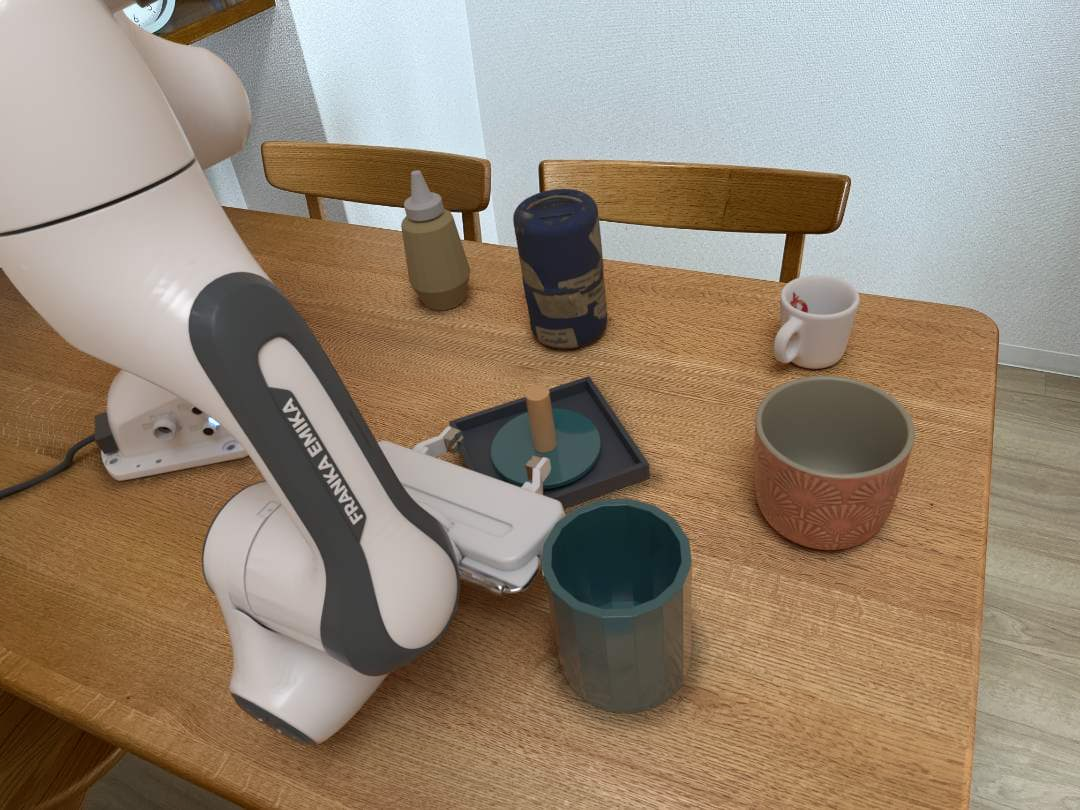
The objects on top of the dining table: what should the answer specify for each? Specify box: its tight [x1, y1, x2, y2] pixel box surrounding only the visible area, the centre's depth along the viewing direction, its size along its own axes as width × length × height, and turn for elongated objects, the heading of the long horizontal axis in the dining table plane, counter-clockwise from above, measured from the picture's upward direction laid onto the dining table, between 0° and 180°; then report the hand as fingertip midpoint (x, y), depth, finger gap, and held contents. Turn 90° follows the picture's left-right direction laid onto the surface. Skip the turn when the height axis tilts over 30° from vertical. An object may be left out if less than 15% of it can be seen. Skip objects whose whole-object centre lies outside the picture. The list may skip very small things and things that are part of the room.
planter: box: [753, 375, 916, 551], centre depth 70 cm, size 12×12×11 cm
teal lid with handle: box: [491, 383, 601, 489], centre depth 80 cm, size 11×11×8 cm
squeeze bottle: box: [400, 169, 471, 311], centre depth 102 cm, size 8×8×18 cm
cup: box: [773, 274, 861, 370], centre depth 87 cm, size 11×8×8 cm
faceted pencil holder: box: [541, 497, 693, 714], centre depth 61 cm, size 10×10×13 cm
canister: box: [512, 188, 608, 350], centre depth 93 cm, size 10×10×18 cm
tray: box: [448, 375, 651, 510], centre depth 82 cm, size 16×15×2 cm
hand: (499, 446), depth 74 cm, fingers open, 8 cm apart
